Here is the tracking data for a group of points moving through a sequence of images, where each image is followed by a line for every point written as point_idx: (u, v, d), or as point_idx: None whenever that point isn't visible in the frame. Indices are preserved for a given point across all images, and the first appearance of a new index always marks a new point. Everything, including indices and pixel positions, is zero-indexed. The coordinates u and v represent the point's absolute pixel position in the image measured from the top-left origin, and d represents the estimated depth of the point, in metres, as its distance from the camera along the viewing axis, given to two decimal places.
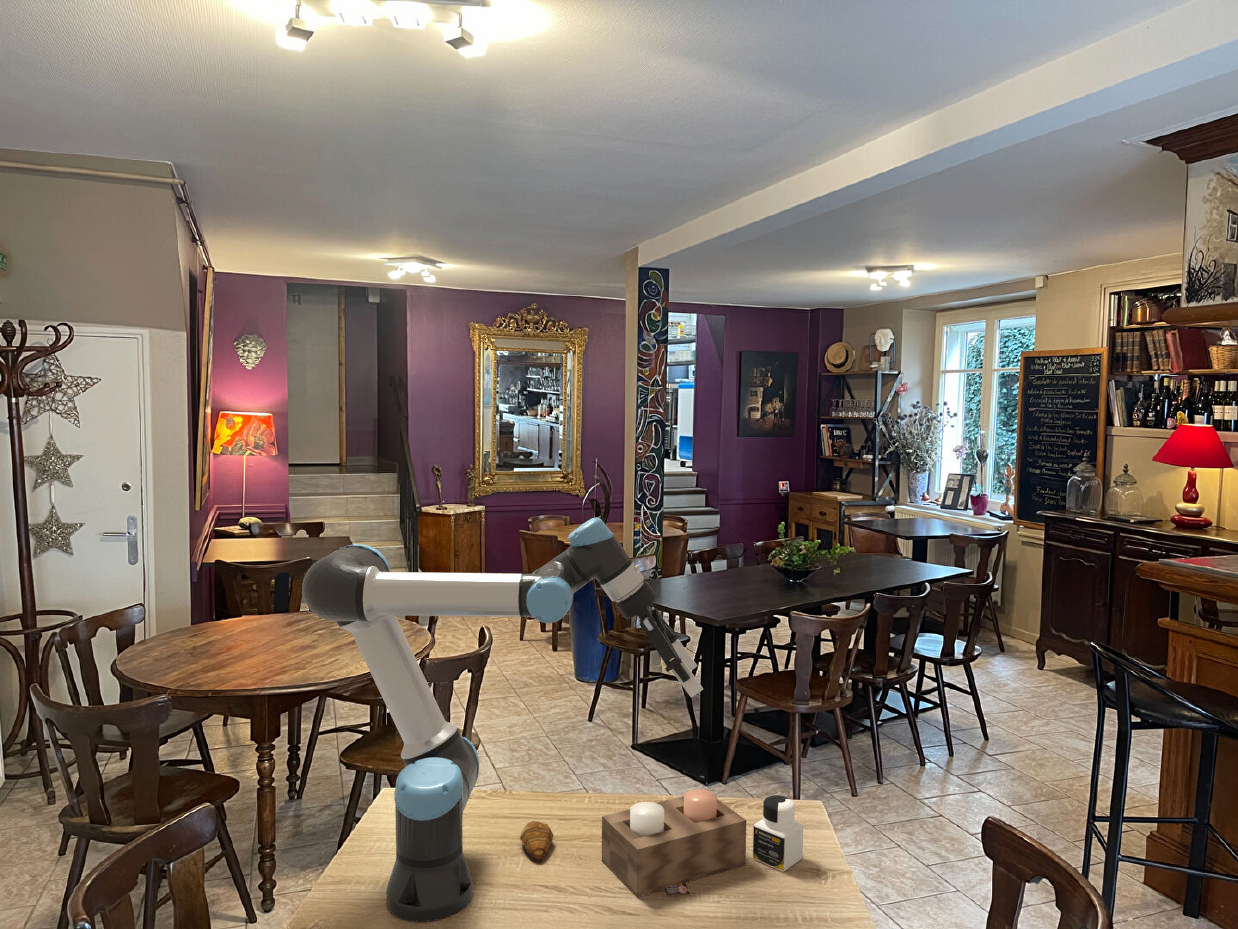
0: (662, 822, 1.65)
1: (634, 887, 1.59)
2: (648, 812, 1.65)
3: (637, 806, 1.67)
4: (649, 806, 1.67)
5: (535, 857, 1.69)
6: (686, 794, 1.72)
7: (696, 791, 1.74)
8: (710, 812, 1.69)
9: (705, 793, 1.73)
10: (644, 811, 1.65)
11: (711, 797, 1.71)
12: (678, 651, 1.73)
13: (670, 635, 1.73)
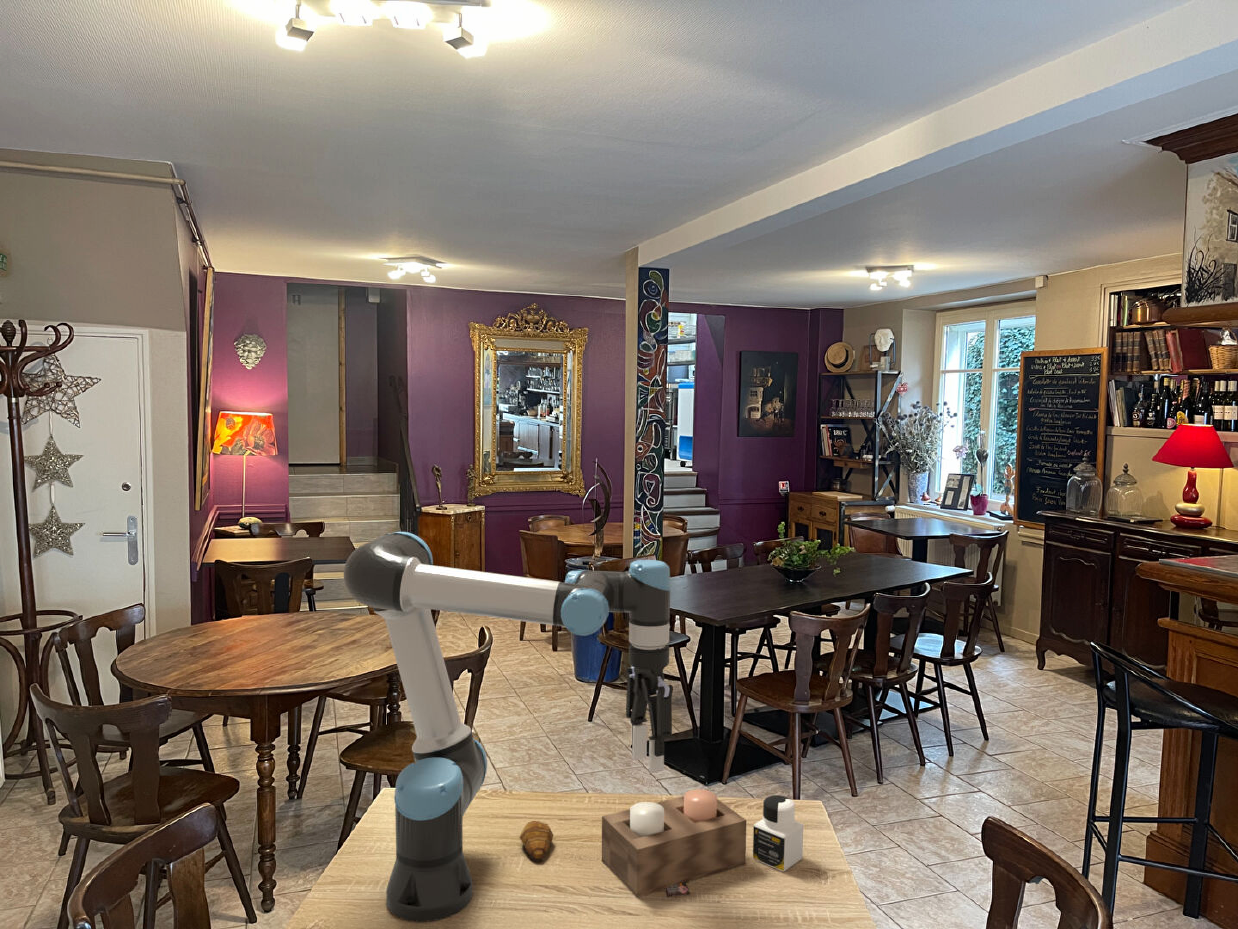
0: (662, 822, 1.65)
1: (634, 887, 1.59)
2: (648, 812, 1.65)
3: (637, 806, 1.67)
4: (649, 806, 1.67)
5: (535, 857, 1.69)
6: (686, 794, 1.72)
7: (696, 791, 1.74)
8: (710, 812, 1.69)
9: (705, 793, 1.73)
10: (644, 811, 1.65)
11: (711, 797, 1.71)
12: (640, 735, 1.67)
13: (643, 713, 1.67)
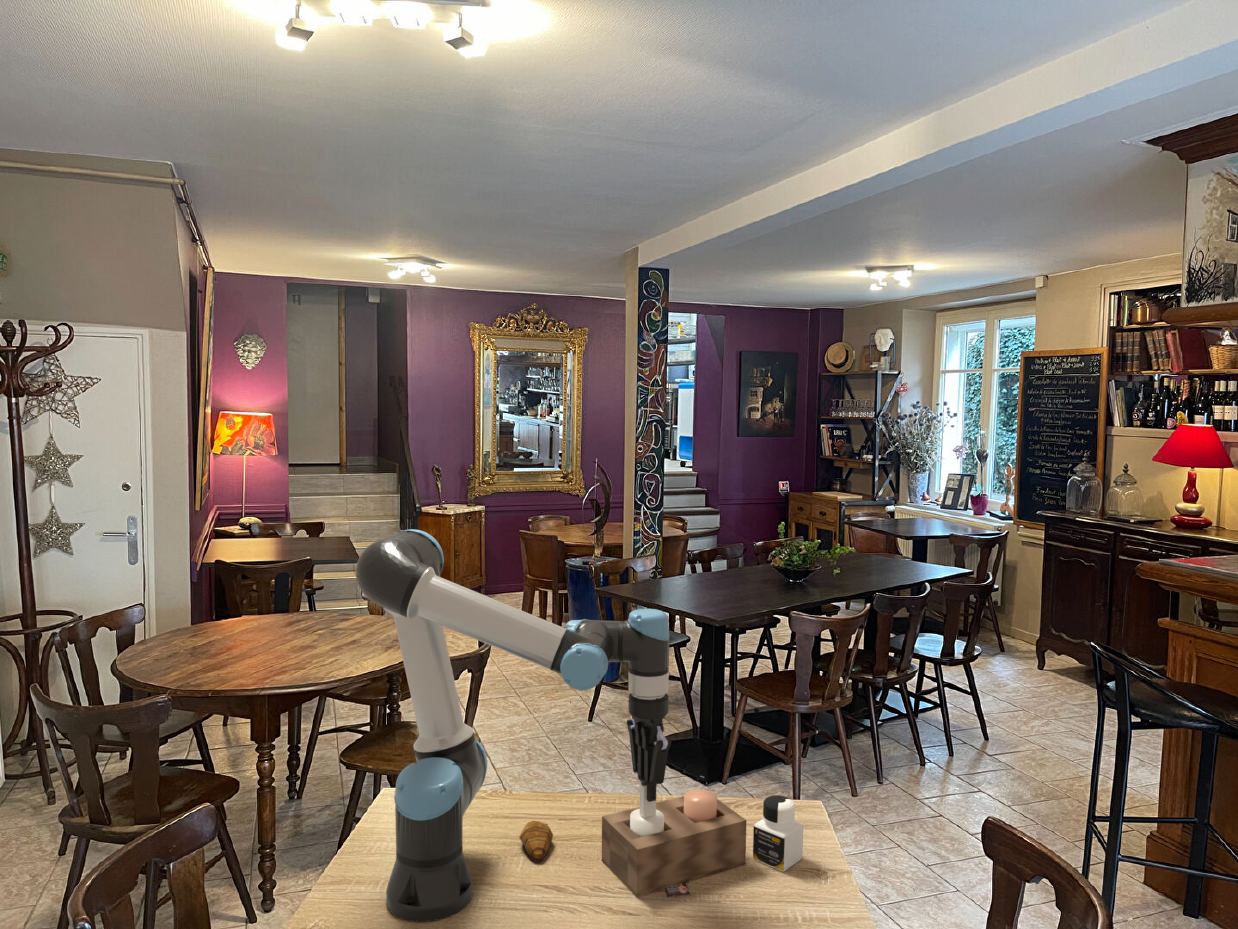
0: (662, 828, 1.65)
1: (634, 887, 1.59)
2: (648, 818, 1.65)
3: (637, 812, 1.67)
4: None
5: (535, 857, 1.69)
6: (686, 794, 1.72)
7: (696, 791, 1.74)
8: (710, 812, 1.69)
9: (705, 793, 1.73)
10: None
11: (711, 797, 1.71)
12: None
13: None
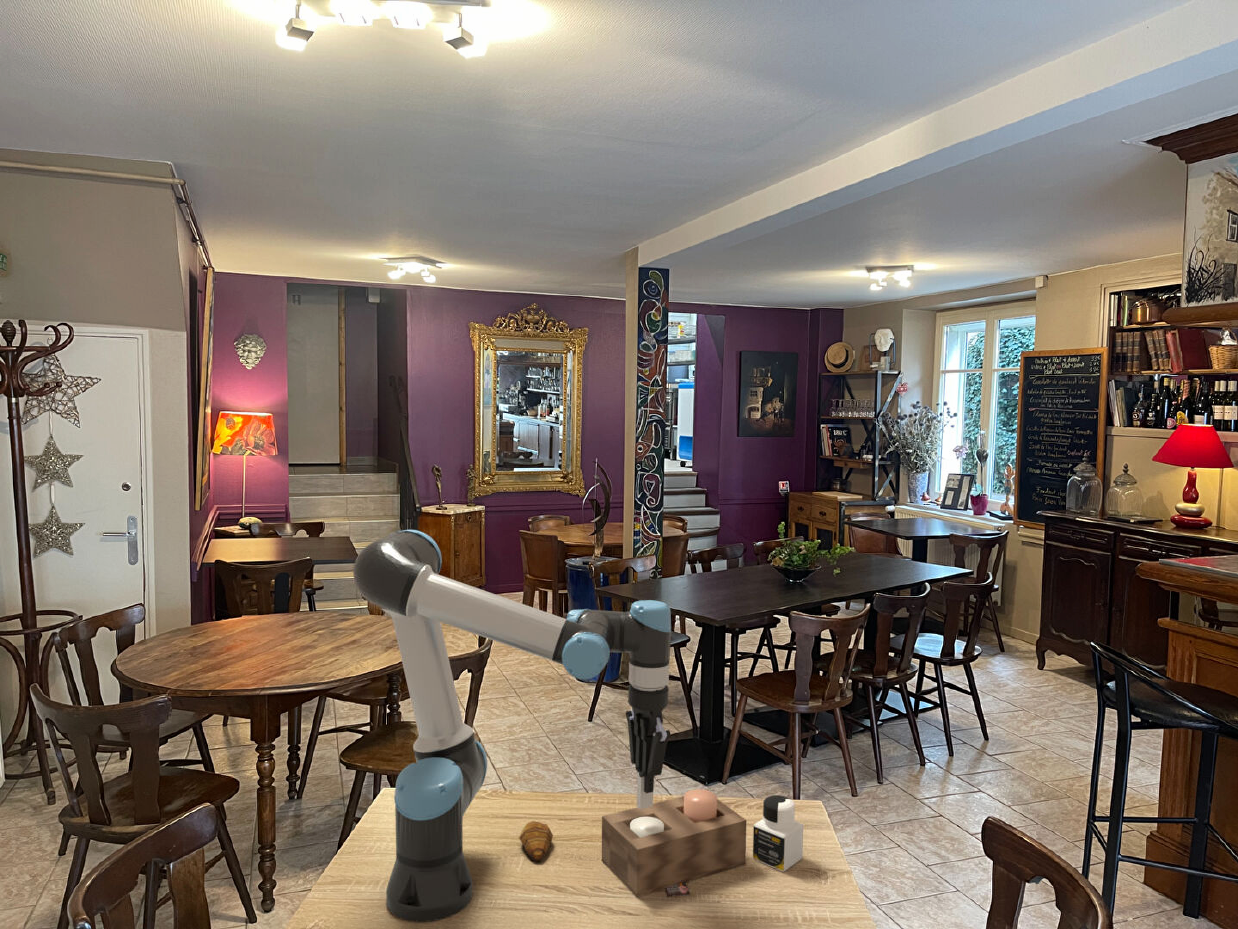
0: None
1: (634, 887, 1.59)
2: (648, 827, 1.65)
3: (637, 821, 1.67)
4: (649, 821, 1.67)
5: (534, 857, 1.69)
6: (686, 794, 1.72)
7: (696, 791, 1.74)
8: (710, 812, 1.69)
9: (705, 793, 1.73)
10: (644, 826, 1.66)
11: (711, 797, 1.71)
12: None
13: None
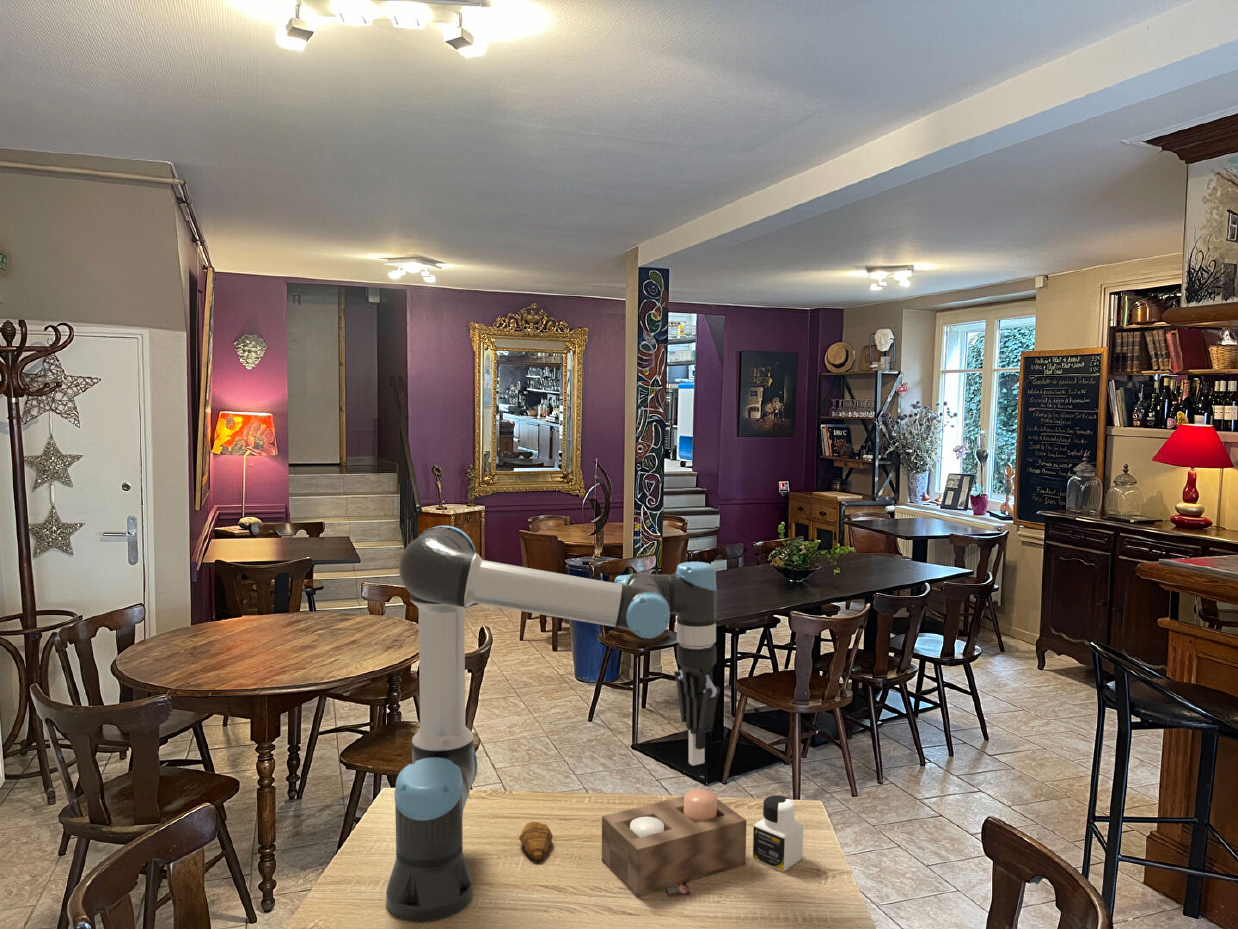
0: None
1: (634, 887, 1.59)
2: (648, 827, 1.65)
3: (637, 821, 1.67)
4: (649, 821, 1.67)
5: (534, 858, 1.69)
6: (686, 794, 1.72)
7: (696, 791, 1.74)
8: (710, 812, 1.69)
9: (705, 793, 1.73)
10: (644, 826, 1.66)
11: (711, 797, 1.71)
12: None
13: None
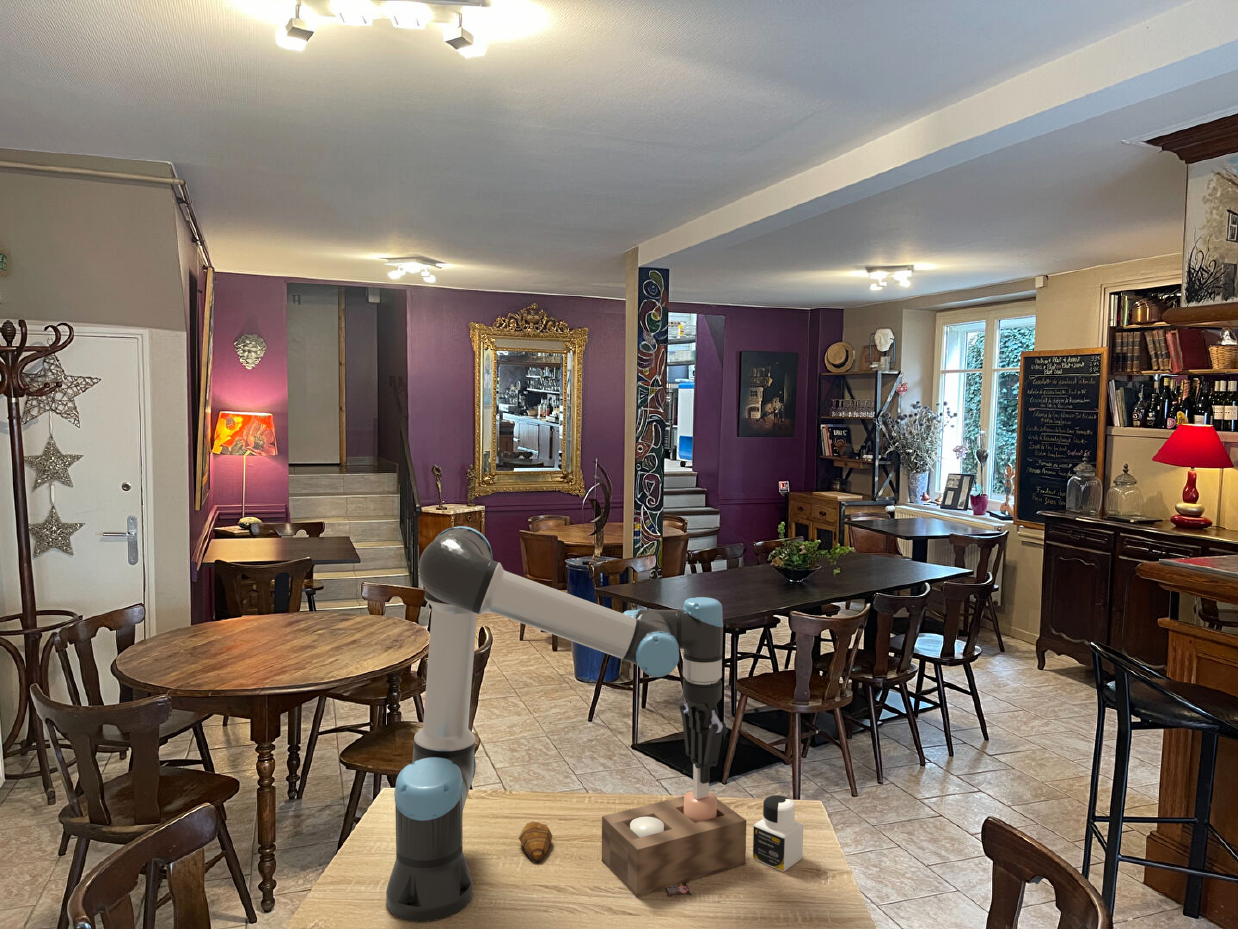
0: None
1: (634, 887, 1.59)
2: (648, 827, 1.65)
3: (637, 821, 1.67)
4: (649, 821, 1.67)
5: (534, 858, 1.69)
6: (686, 795, 1.72)
7: None
8: (710, 813, 1.69)
9: None
10: (644, 826, 1.66)
11: (711, 798, 1.71)
12: None
13: None
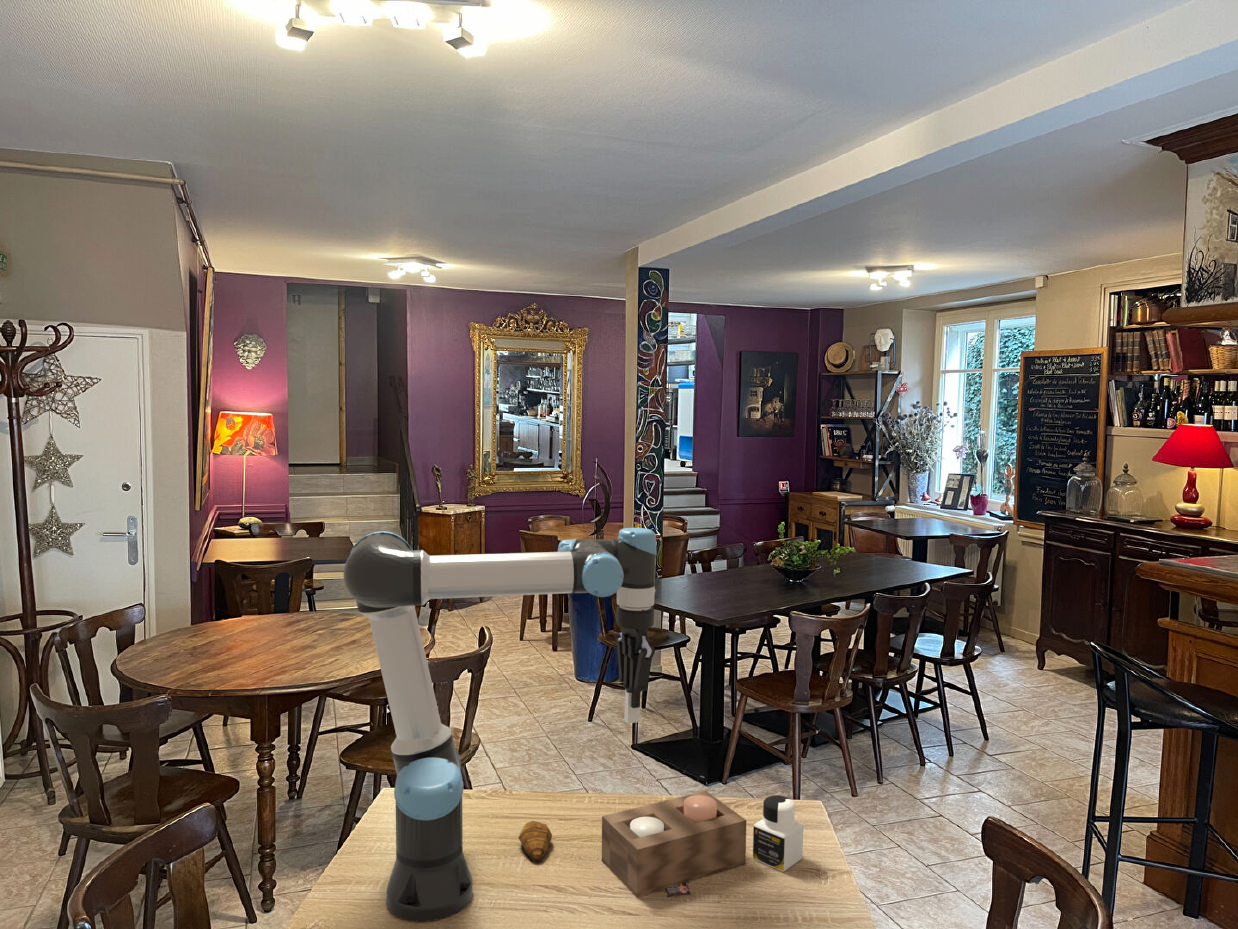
0: None
1: (634, 887, 1.59)
2: (648, 827, 1.65)
3: (637, 821, 1.67)
4: (649, 821, 1.67)
5: (534, 857, 1.69)
6: (686, 800, 1.72)
7: (696, 797, 1.74)
8: (710, 818, 1.69)
9: (705, 799, 1.73)
10: (644, 826, 1.66)
11: (711, 803, 1.71)
12: None
13: None
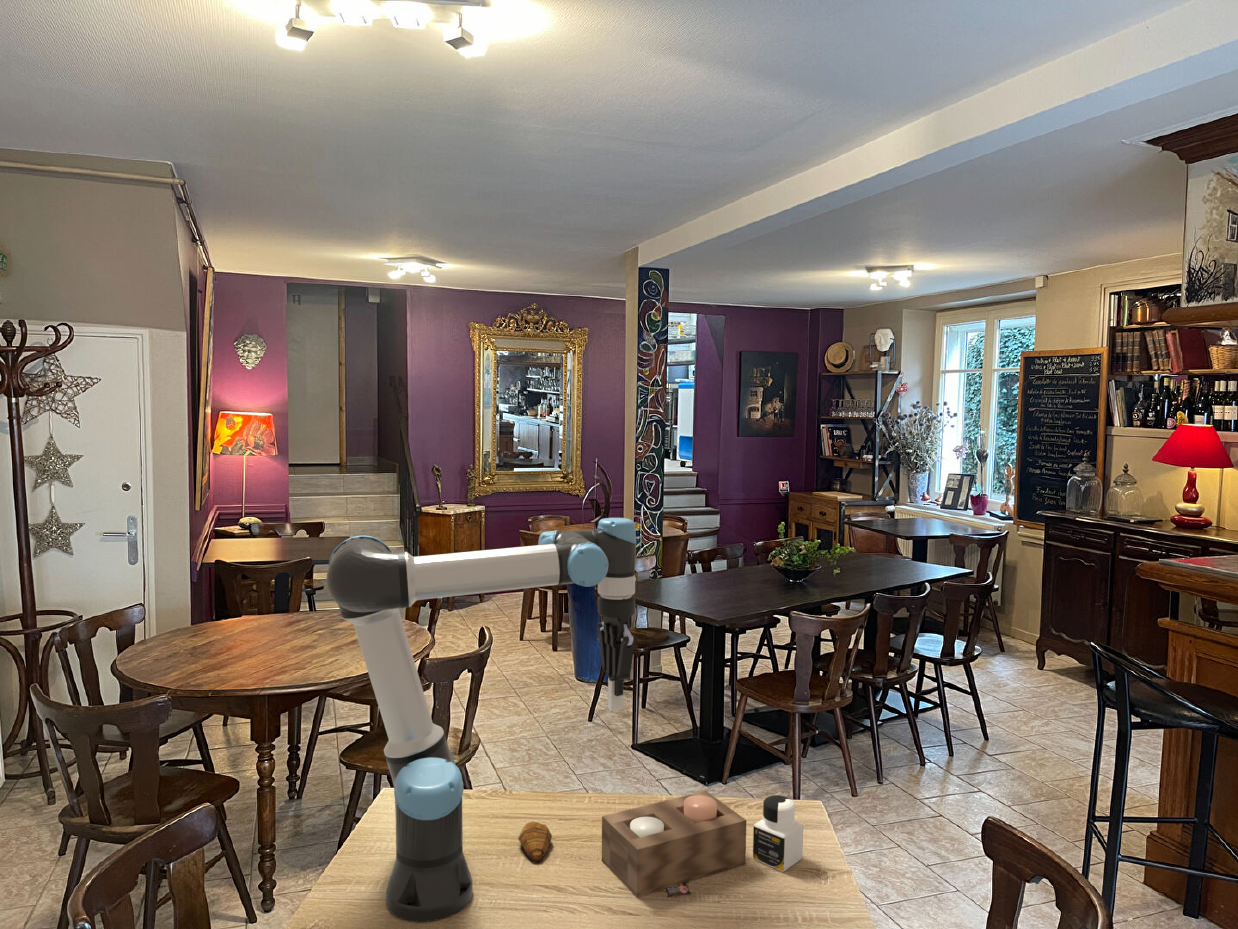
0: None
1: (634, 887, 1.59)
2: (648, 827, 1.65)
3: (637, 821, 1.67)
4: (649, 821, 1.67)
5: (533, 858, 1.69)
6: (686, 800, 1.72)
7: (696, 797, 1.74)
8: (710, 818, 1.69)
9: (705, 799, 1.73)
10: (644, 826, 1.66)
11: (711, 803, 1.71)
12: None
13: None
